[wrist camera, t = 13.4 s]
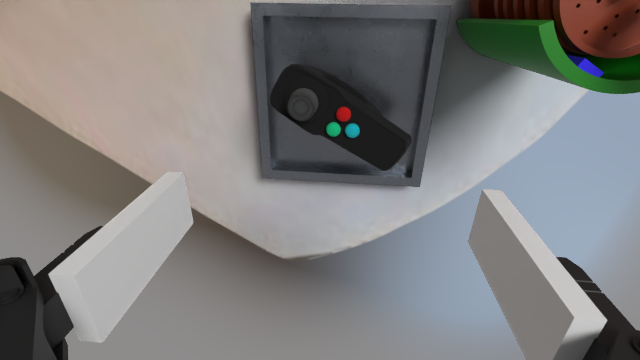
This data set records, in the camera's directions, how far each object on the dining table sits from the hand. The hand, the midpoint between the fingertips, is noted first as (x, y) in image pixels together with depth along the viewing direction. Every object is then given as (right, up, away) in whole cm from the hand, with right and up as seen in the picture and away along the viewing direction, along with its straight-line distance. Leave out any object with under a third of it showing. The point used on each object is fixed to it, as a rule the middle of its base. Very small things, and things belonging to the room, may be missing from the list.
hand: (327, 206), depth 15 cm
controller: (+2, +9, +19) cm, 21 cm away
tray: (+2, +10, +19) cm, 22 cm away
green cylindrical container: (+17, +17, +14) cm, 28 cm away
